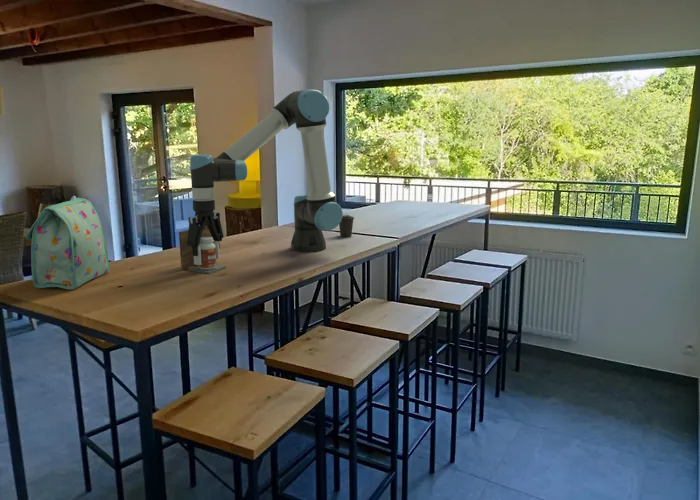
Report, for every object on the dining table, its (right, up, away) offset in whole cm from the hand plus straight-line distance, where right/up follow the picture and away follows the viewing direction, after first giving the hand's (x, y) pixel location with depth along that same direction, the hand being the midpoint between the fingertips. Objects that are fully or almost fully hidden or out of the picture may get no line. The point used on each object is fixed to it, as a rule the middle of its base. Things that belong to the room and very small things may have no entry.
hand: (207, 261), depth 183 cm
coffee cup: (+50, +11, +62) cm, 80 cm away
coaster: (0, -3, +1) cm, 3 cm away
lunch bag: (-40, -6, -14) cm, 43 cm away
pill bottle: (0, -3, 0) cm, 3 cm away
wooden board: (-5, -2, +6) cm, 8 cm away
